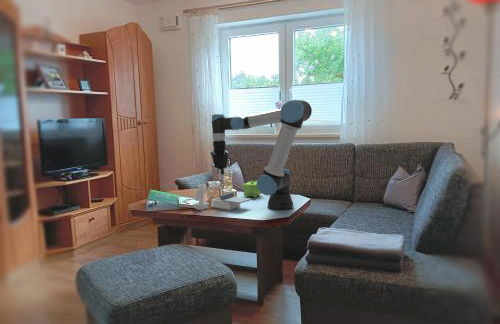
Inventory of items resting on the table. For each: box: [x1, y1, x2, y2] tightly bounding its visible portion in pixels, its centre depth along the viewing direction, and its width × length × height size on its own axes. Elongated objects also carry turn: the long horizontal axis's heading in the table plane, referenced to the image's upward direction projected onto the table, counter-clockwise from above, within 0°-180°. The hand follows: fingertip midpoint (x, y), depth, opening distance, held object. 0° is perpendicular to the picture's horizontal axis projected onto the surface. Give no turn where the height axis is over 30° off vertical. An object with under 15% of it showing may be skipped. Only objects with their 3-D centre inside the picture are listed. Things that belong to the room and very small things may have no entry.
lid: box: [219, 192, 252, 204], centre depth 214 cm, size 14×11×3 cm
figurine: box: [192, 184, 211, 211], centre depth 215 cm, size 7×9×15 cm
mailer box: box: [210, 196, 241, 210], centre depth 219 cm, size 14×10×5 cm
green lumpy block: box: [241, 180, 262, 198], centre depth 249 cm, size 15×13×11 cm
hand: (221, 179), depth 219 cm, fingers closed
